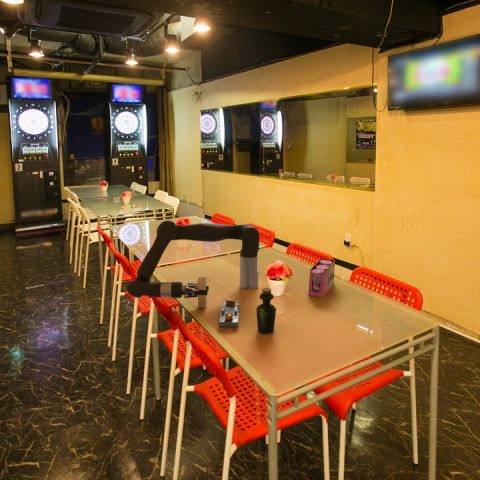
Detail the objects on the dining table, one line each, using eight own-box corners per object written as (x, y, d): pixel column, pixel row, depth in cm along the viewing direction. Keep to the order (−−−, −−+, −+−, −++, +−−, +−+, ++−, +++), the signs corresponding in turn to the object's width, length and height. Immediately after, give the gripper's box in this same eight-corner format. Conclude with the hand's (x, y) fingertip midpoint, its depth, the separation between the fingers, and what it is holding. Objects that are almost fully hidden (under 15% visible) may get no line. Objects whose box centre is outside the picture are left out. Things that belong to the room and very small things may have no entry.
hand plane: (222, 307, 195) (222, 297, 194) (239, 307, 195) (239, 297, 194) (219, 328, 174) (219, 317, 172) (238, 328, 173) (238, 317, 172)
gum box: (322, 298, 206) (324, 272, 203) (307, 296, 209) (308, 270, 206) (333, 283, 227) (335, 259, 223) (319, 281, 230) (320, 258, 227)
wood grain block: (199, 303, 197) (198, 277, 194) (206, 303, 197) (206, 277, 194) (198, 307, 192) (197, 280, 189) (205, 307, 192) (205, 280, 189)
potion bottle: (270, 324, 177) (270, 284, 173) (279, 333, 170) (280, 291, 165) (252, 328, 174) (253, 287, 169) (261, 336, 167) (262, 294, 162)
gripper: (168, 287, 185) (206, 288, 185) (173, 277, 199) (209, 277, 199) (168, 303, 187) (206, 304, 187) (174, 291, 201) (209, 292, 201)
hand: (207, 290), depth 193 cm, fingers closed on wood grain block, 5 cm apart
